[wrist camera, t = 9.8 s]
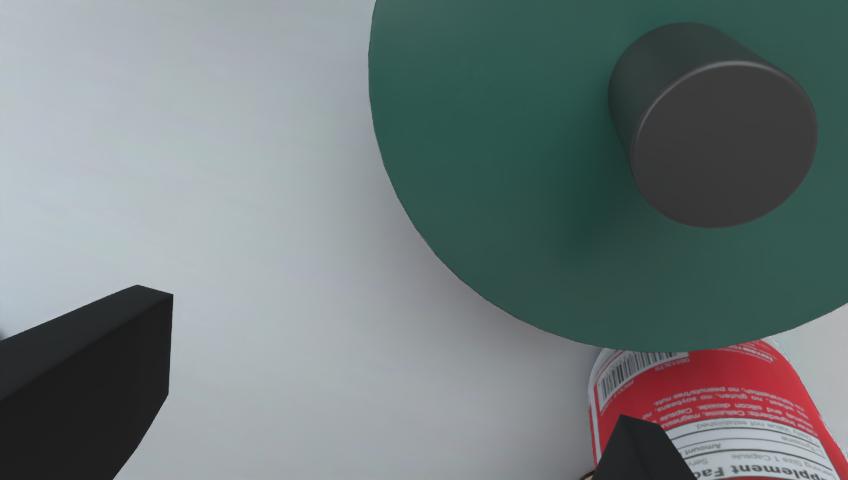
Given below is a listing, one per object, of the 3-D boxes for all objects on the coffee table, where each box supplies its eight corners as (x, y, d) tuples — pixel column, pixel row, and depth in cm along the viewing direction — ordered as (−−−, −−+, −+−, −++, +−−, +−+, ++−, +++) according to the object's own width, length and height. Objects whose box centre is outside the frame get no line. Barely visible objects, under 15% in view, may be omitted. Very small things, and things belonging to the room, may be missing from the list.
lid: (545, 394, 17) (547, 547, 13) (270, -21, 14) (153, 5, 9) (1081, 181, 13) (1337, 305, 9) (876, -479, 10) (1131, -778, 5)
